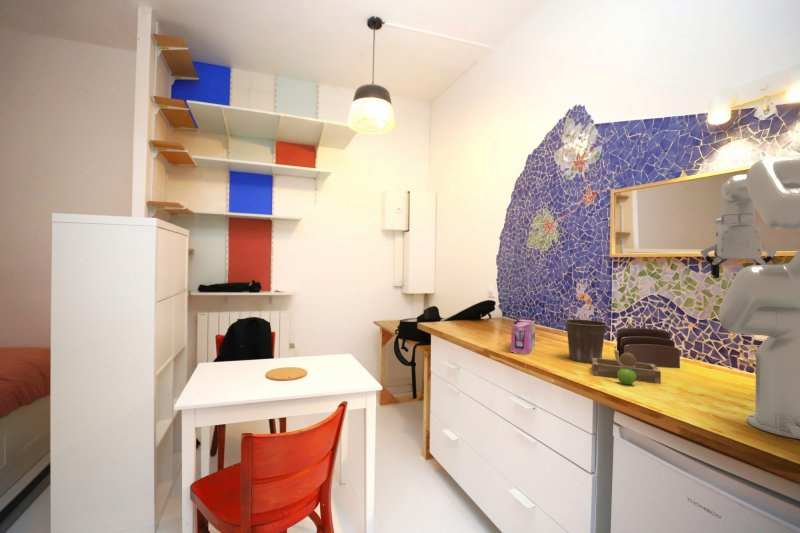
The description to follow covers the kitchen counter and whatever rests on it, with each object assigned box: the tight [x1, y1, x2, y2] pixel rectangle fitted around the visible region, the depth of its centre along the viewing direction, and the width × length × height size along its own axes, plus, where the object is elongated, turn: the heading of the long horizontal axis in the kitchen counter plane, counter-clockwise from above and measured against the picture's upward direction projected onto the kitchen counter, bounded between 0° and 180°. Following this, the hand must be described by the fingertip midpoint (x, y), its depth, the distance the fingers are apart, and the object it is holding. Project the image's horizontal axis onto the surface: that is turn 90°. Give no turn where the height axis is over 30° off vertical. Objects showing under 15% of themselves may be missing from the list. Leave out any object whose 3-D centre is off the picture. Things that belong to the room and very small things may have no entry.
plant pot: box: [564, 318, 608, 364], centre depth 156 cm, size 16×16×16 cm
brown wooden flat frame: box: [591, 357, 662, 384], centre depth 134 cm, size 12×20×4 cm, turn 65°
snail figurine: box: [613, 345, 636, 385], centre depth 123 cm, size 5×6×12 cm
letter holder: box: [616, 327, 681, 369], centre depth 153 cm, size 10×20×14 cm, turn 75°
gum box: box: [510, 317, 536, 355], centre depth 175 cm, size 24×8×14 cm, turn 153°
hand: (736, 278), depth 112 cm, fingers open, 9 cm apart
